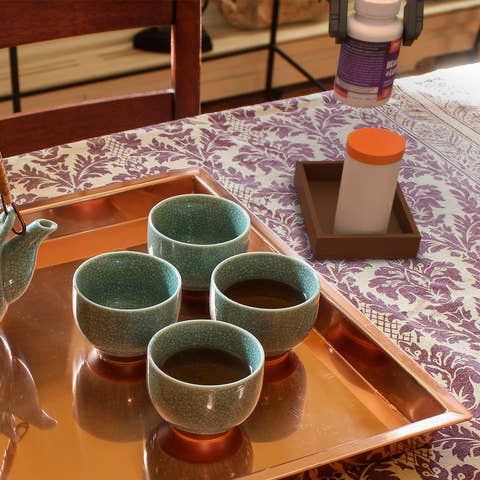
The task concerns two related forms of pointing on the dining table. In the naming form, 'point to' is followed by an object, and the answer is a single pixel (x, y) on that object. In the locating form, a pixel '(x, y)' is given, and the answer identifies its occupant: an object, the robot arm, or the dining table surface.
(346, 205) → the orange-capped white bottle
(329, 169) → the tray
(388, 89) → the pill bottle
